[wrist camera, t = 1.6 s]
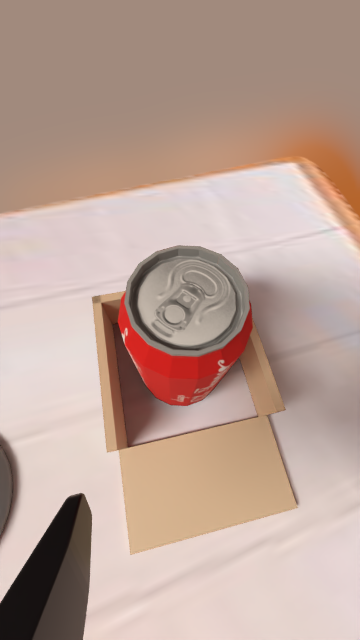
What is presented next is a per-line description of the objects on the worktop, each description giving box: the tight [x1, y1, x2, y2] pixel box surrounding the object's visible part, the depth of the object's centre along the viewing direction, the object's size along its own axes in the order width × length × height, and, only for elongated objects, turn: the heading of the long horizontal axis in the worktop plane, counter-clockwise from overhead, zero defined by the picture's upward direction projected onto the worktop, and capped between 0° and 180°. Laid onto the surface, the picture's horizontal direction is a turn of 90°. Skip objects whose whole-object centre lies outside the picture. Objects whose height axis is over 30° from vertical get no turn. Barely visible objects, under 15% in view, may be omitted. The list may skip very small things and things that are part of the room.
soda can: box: [118, 246, 253, 406], centre depth 16 cm, size 6×6×12 cm
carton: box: [92, 291, 298, 555], centre depth 19 cm, size 17×11×4 cm
